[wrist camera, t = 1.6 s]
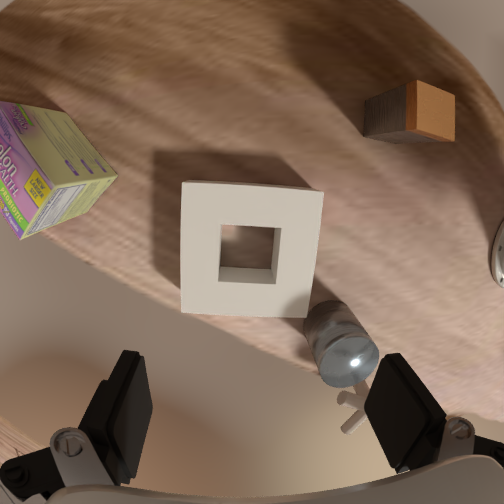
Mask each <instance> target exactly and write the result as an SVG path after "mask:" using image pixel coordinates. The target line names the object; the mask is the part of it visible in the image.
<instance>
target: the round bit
mask: <svg viewBox="0 0 504 504" xmlns="http://www.w3.org/2000/svg"><path fill="white" fill-rule="evenodd" d="M303 329H304V333H305V336H306V338H307V341H308V343H309V346H310V349H311V351H312V354H313V356H314V359H315V362H316V364H317V367H318V370H319V372H320V375H321V377H322V379H323V381H324V382H325V383H326V384H328V385H329V386H332V387H336V388H345V387H350V386H353V385H355V384H358V383H360V382H361V381H363V380H364V379H366V378H367V377H368V376H369V375H370V374H371V373H372V372H373V370H374V369H375V367H376V366H377V363H378V360H379V350H378V348H377V346H376V345H375V343H374V342H373V340H372V339H371V338H370V336H369V335H368V333H367V332H366V331H365V329H364V328H363V326H362V325H361V324H360V322H359V321H358V319H357V318H356V317H355V315H354V314H353V313H352V311H351V310H350V308H349V307H348V306H347V305H346V304H344V303H342V302H340V301H334V300H332V301H325V302H322V303H320V304H318V305H316V306H315V307H314V308H313V309H311V310H310V312H309V313H308V314H307V318H305V320H304V325H303Z"/></svg>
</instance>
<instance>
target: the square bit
mask: <svg viewBox="0 0 504 504" xmlns="http://www.w3.org/2000/svg"><path fill="white" fill-rule="evenodd" d="M363 137H367V138H371V139H376V140H381V141H385V142H390V143H394V144H402V143H421V142H452V141H455V95H453V94H451V93H448V92H446V91H444V90H441V89H439V88H436V87H434V86H431V85H429V84H426V83H424V82H421V81H419V80H415V81H413V82H410V83H407V84H405V85H402V86H400V87H397V88H395V89H392V90H390V91H387V92H385V93H382V94H380V95H378V96H375V97H373V98H370V99H368V100H366V101H365V117H364V135H363Z"/></svg>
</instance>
